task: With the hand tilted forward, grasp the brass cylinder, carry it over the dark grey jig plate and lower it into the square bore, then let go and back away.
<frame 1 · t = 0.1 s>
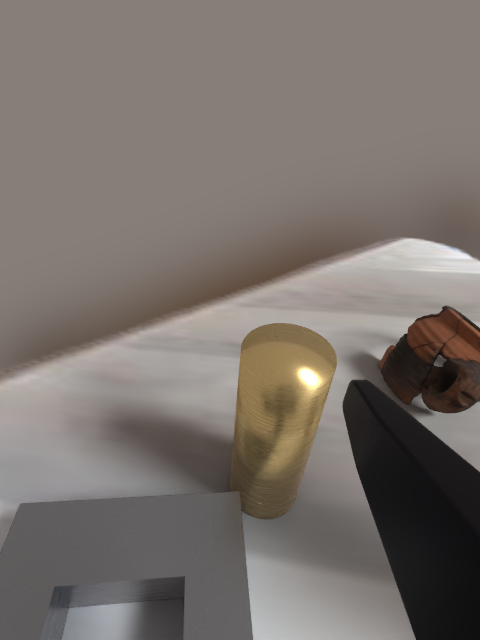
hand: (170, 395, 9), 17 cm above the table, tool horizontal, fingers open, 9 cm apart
brass cylinder: (263, 483, 24), on the table
pottery mug: (432, 391, 33), on the table
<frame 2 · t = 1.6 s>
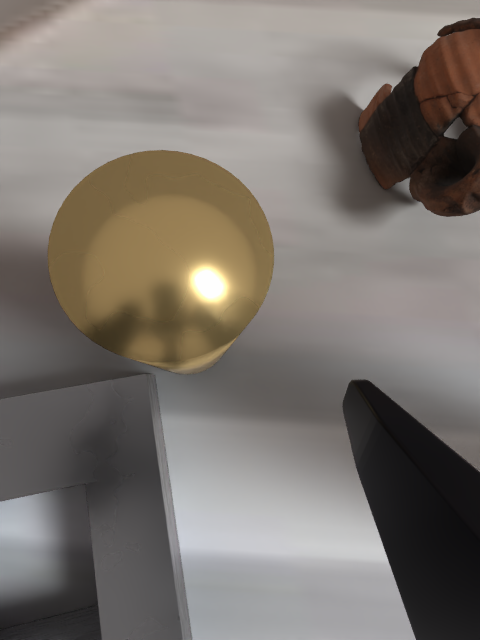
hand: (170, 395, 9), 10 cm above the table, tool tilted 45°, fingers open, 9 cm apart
brass cylinder: (187, 331, 19), on the table
pottery mug: (425, 162, 23), on the table
jig plate: (46, 546, 17), on the table
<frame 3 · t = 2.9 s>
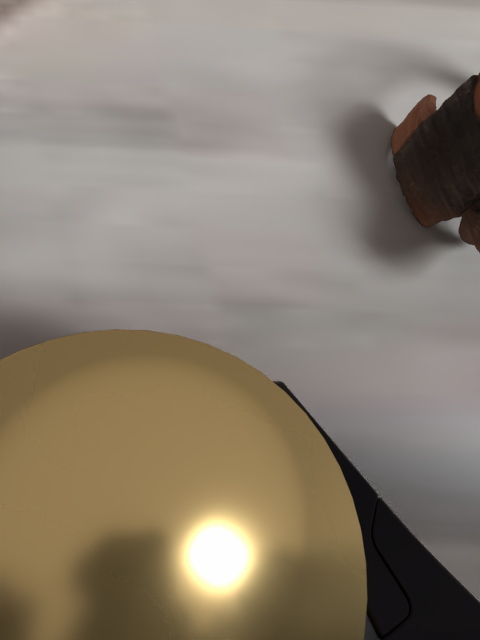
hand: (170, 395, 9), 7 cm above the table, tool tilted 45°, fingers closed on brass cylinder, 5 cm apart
brass cylinder: (183, 421, 15), on the table, touching gripper
pottery mug: (473, 191, 19), on the table
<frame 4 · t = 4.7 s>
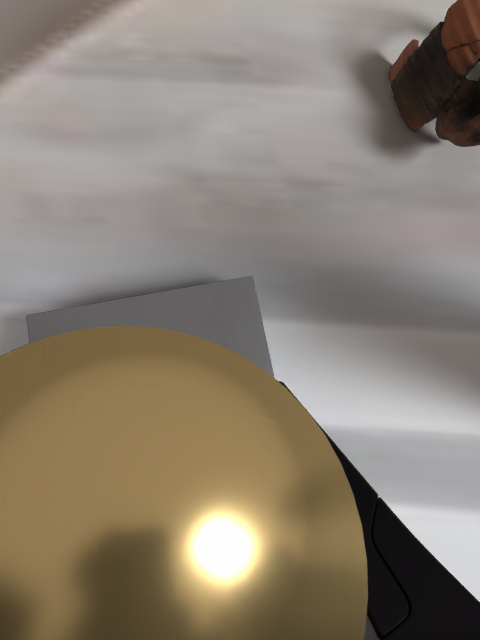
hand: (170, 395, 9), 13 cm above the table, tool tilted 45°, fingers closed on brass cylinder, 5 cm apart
brass cylinder: (183, 420, 15), point 7 cm above the table, touching gripper
pottery mug: (445, 108, 27), on the table
jig plate: (171, 418, 21), on the table
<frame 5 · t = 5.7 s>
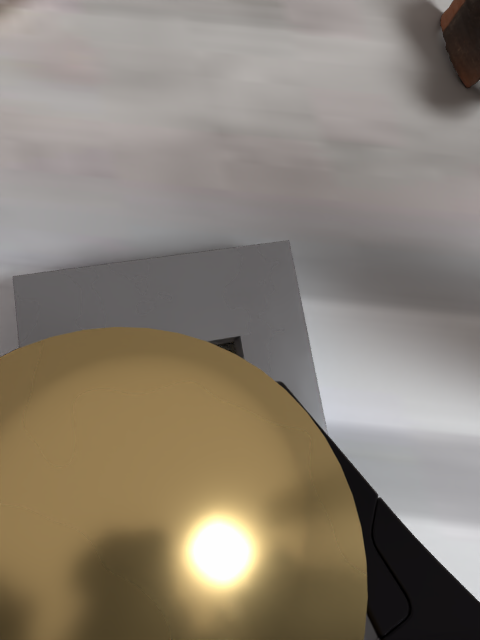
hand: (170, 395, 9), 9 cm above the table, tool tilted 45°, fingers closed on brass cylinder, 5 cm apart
brass cylinder: (183, 420, 15), point 3 cm above the table, touching gripper
jig plate: (184, 411, 18), on the table
when the fingers open (8 cm above the table, at t = 6.4 s): brass cylinder drops 1 cm, resting in jig plate.
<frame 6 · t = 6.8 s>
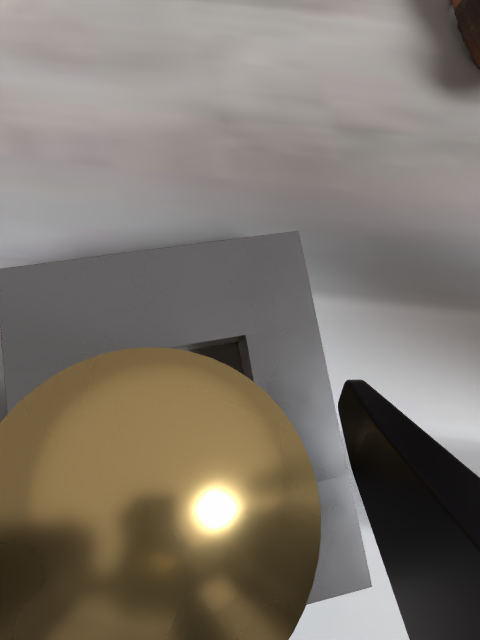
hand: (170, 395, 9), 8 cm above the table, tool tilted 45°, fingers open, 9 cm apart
brass cylinder: (186, 418, 16), resting in jig plate
jig plate: (185, 417, 16), on the table
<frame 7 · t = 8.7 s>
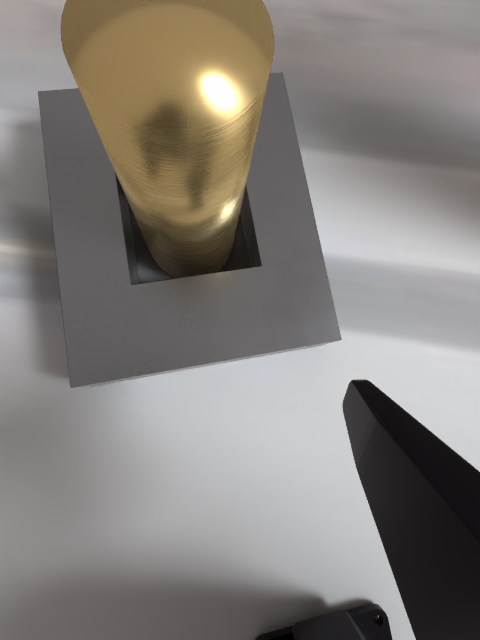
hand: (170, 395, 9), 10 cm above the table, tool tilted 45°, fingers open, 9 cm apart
brass cylinder: (191, 239, 20), resting in jig plate
jig plate: (190, 238, 20), on the table
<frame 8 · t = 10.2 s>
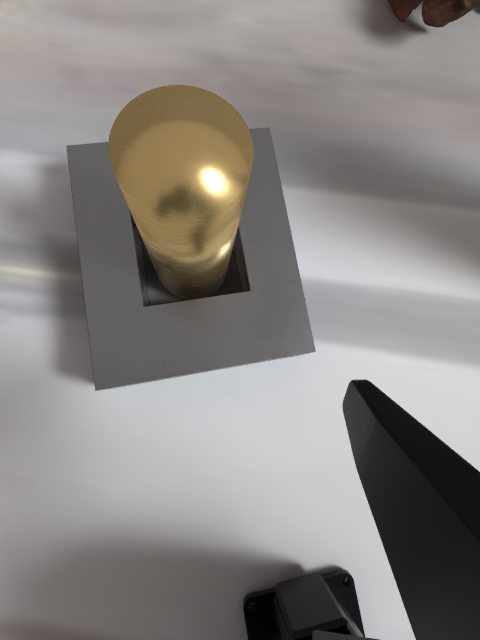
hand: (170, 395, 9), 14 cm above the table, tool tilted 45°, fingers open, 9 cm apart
brass cylinder: (192, 265, 23), resting in jig plate
pottery mug: (432, 4, 29), on the table
jig plate: (191, 264, 23), on the table
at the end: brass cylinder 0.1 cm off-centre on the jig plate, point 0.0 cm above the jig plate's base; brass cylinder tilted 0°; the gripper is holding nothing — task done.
